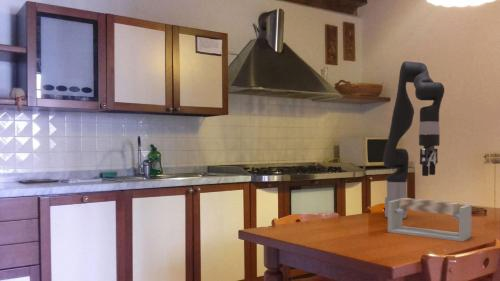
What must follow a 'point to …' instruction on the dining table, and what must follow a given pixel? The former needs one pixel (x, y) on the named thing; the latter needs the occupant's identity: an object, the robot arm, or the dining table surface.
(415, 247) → the dining table surface
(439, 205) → the shelf board
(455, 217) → the grey c-shaped frame
